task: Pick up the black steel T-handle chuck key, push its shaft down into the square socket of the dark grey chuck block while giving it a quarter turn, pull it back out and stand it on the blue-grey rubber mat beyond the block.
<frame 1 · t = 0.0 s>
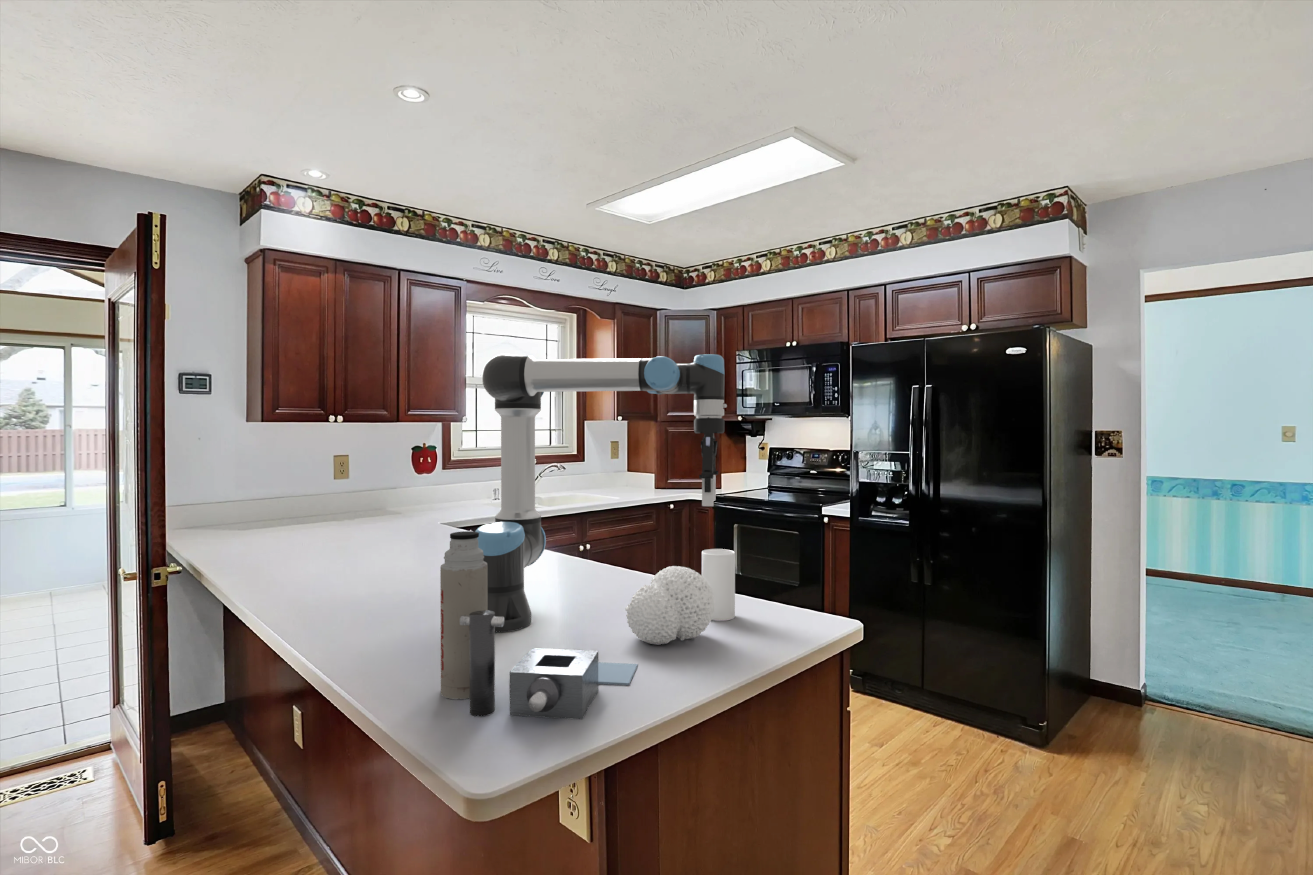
hand: (709, 503, 166), 28 cm above the worktop, fingers open, 13 cm apart
chuck block: (556, 702, 113), on the worktop
mat: (607, 673, 126), on the worktop
cup: (718, 616, 165), on the worktop
thermos bottle: (464, 691, 118), on the worktop
white coral: (673, 641, 146), on the worktop
key: (482, 711, 109), on the worktop
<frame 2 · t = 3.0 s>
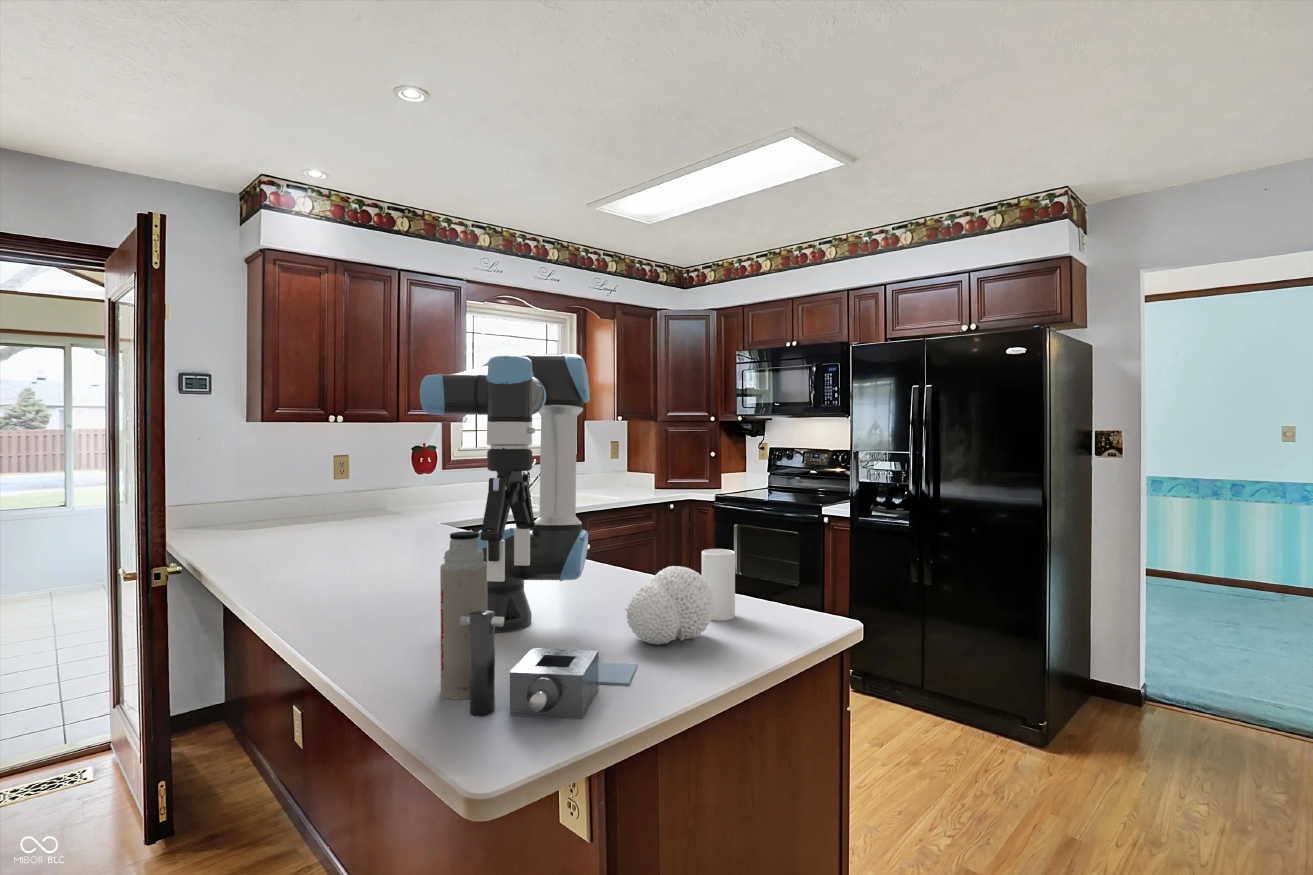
hand: (509, 572, 113), 22 cm above the worktop, fingers open, 13 cm apart
nothing on the worktop moved.
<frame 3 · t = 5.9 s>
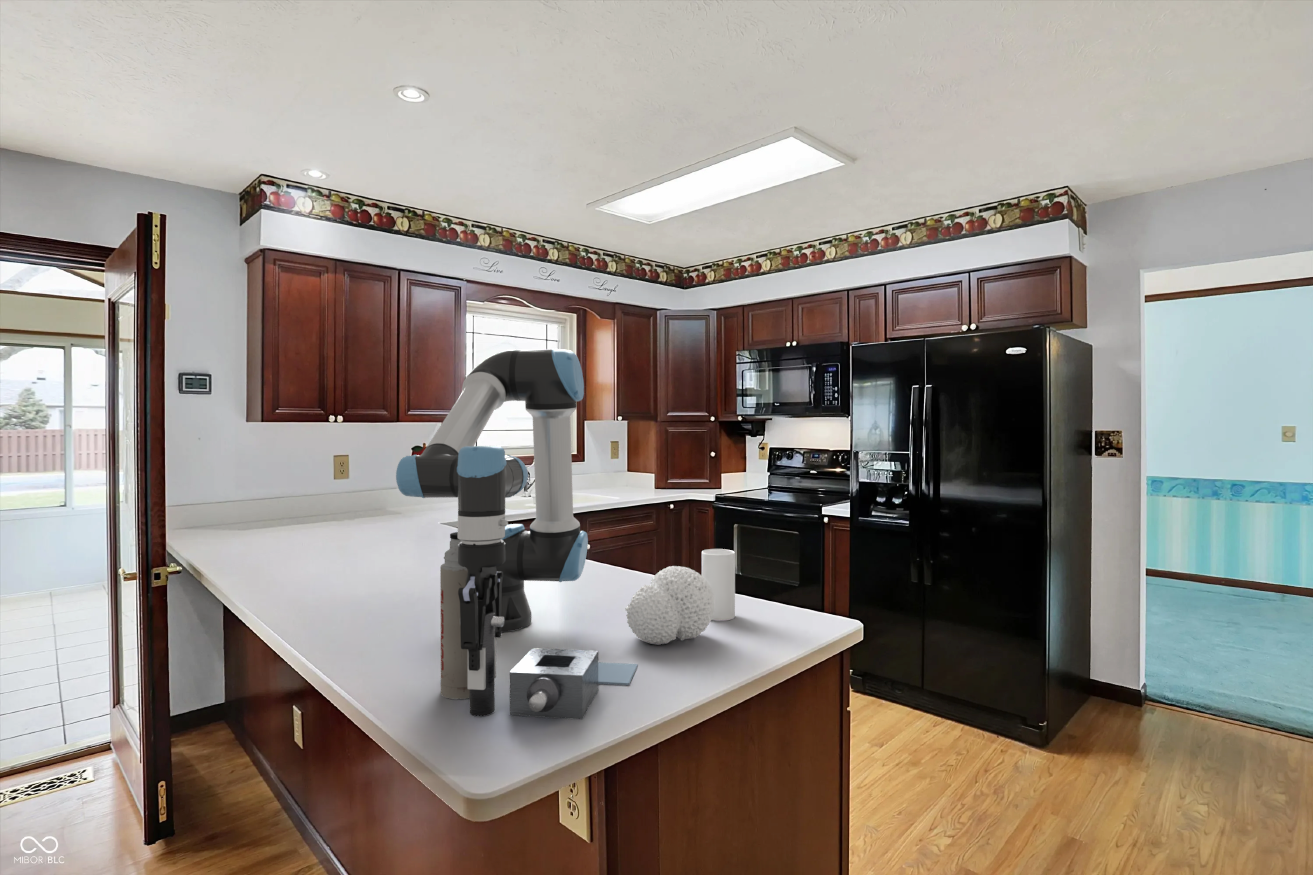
hand: (482, 682, 109), 5 cm above the worktop, fingers closed on key, 4 cm apart
key: (482, 711, 109), on the worktop, touching gripper
everything else where it was.
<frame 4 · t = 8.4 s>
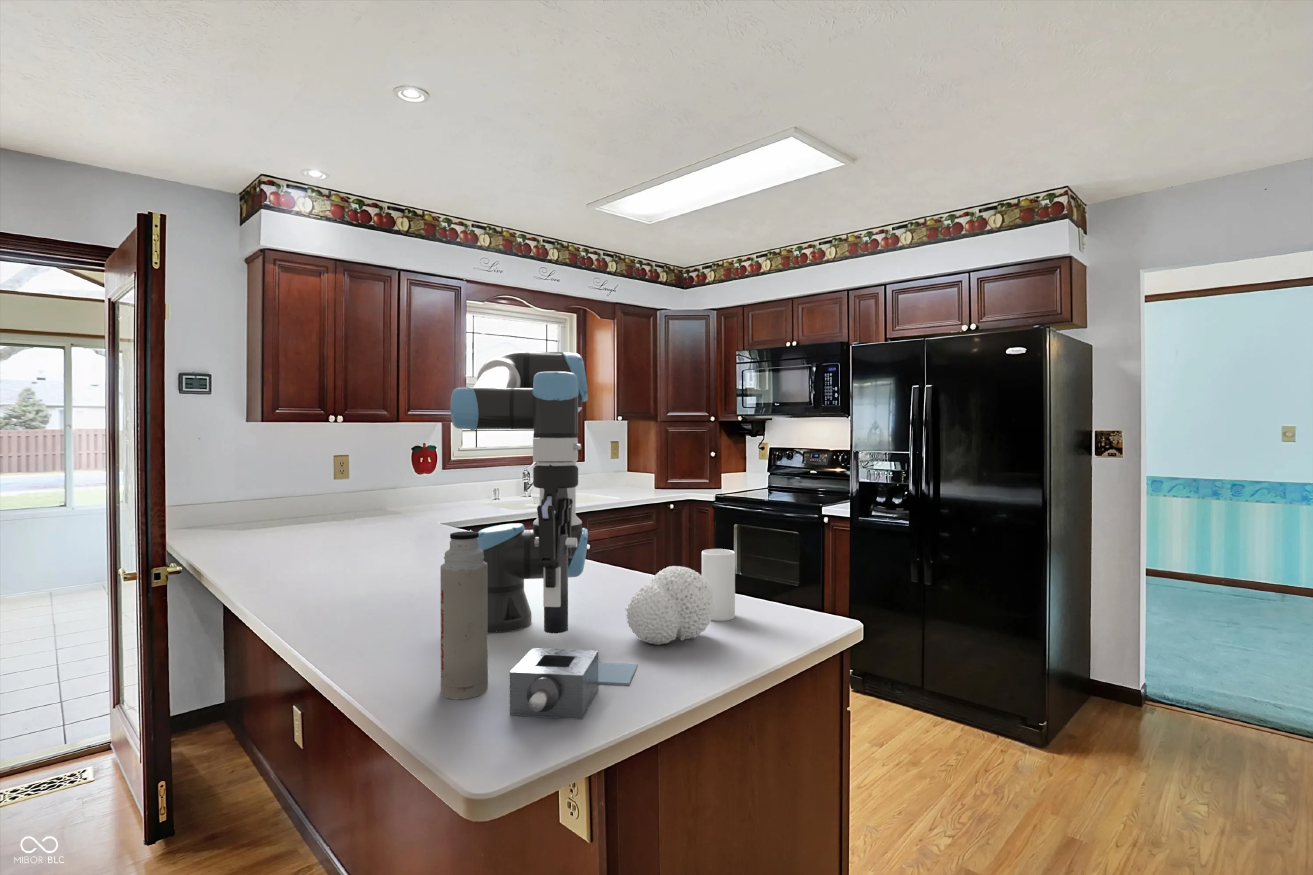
hand: (555, 602, 112), 17 cm above the worktop, fingers closed on key, 4 cm apart
key: (556, 629, 112), point 12 cm above the worktop, touching gripper
everything else where it was.
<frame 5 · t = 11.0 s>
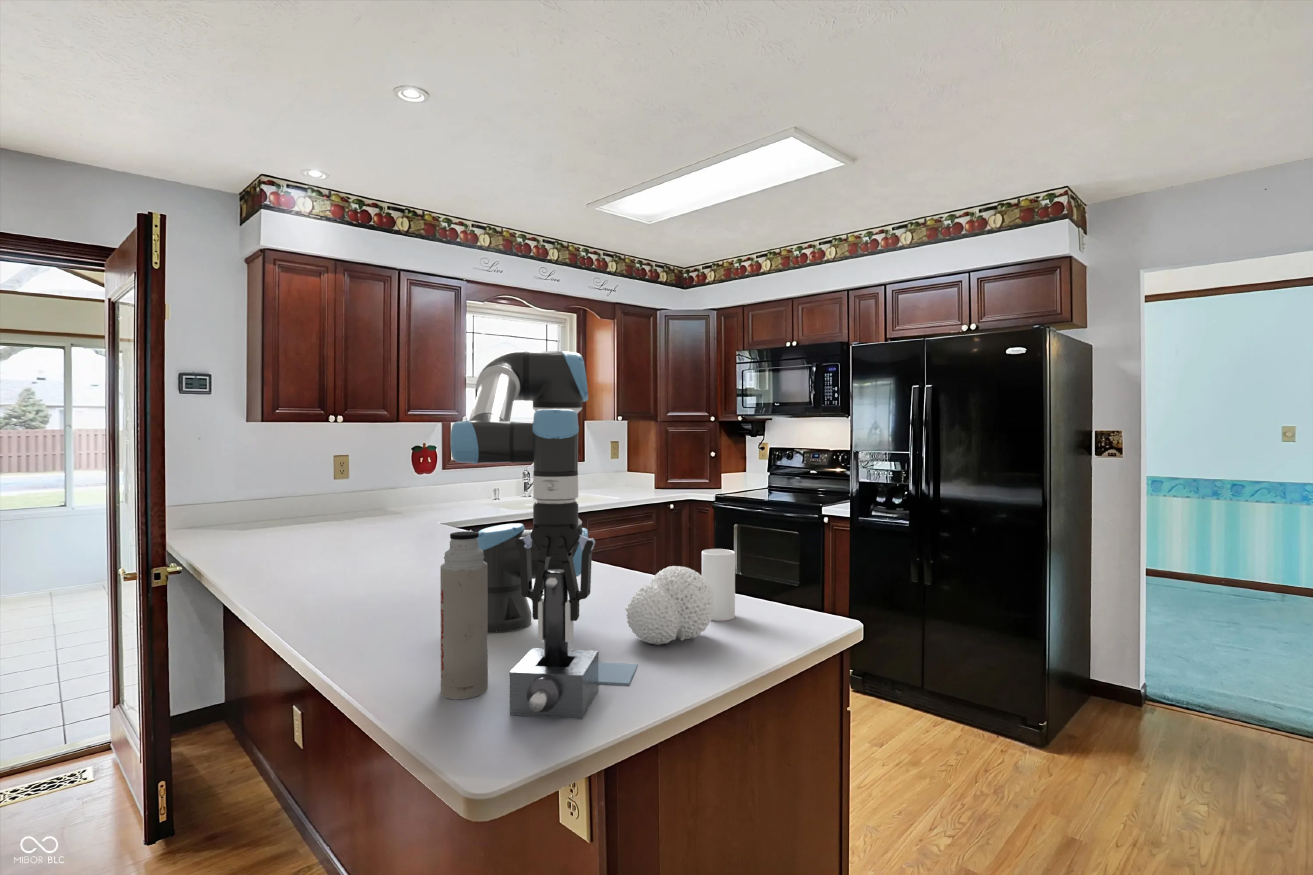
hand: (555, 638, 113), 11 cm above the worktop, fingers closed on key, 4 cm apart
key: (555, 666, 113), point 6 cm above the worktop, touching gripper
everything else where it was.
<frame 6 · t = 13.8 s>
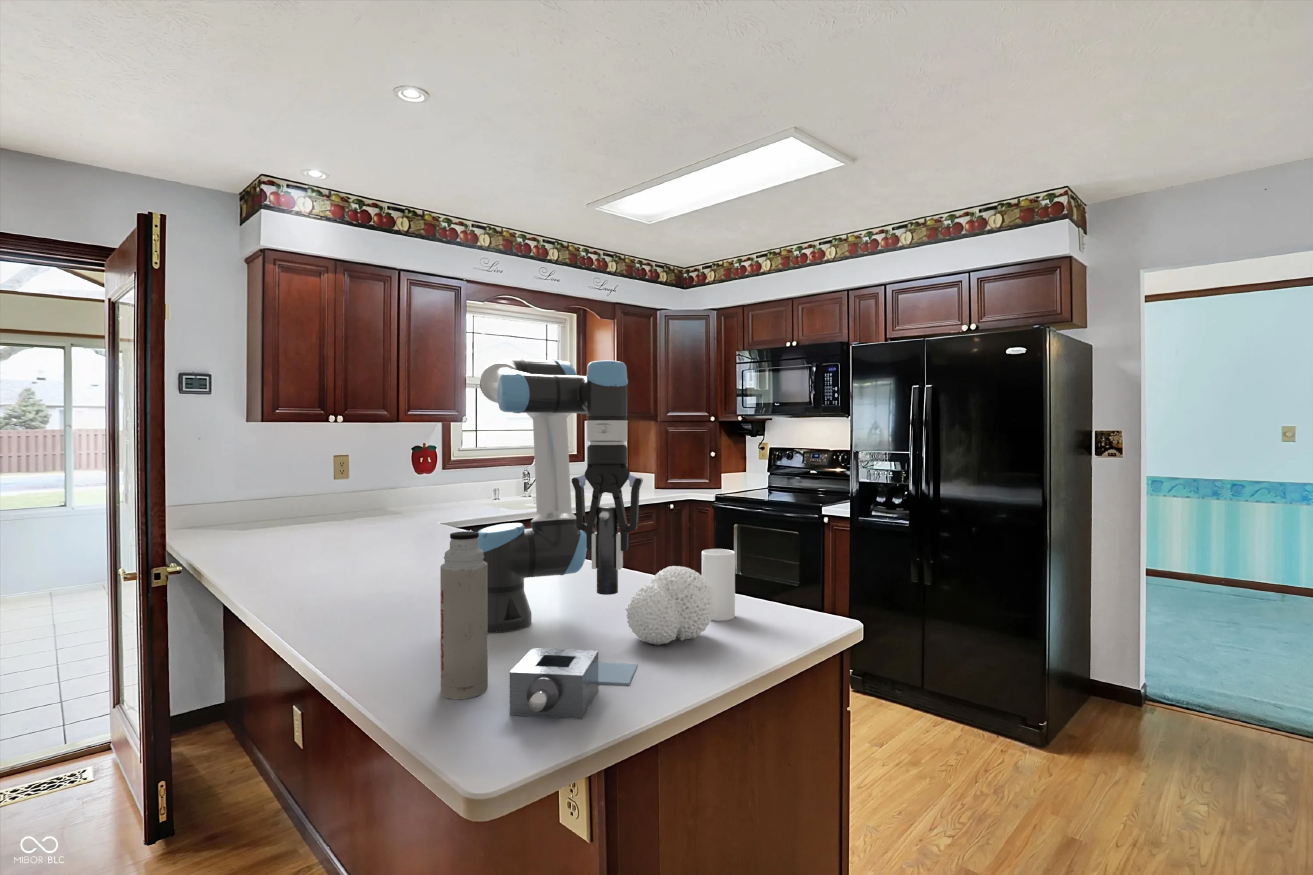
hand: (607, 567, 126), 20 cm above the worktop, fingers closed on key, 4 cm apart
key: (607, 592, 126), point 16 cm above the worktop, touching gripper
everything else where it was.
when the fingers open (6 cm above the worktop, at t = 16.5 s): key stays where it is, resting on mat.
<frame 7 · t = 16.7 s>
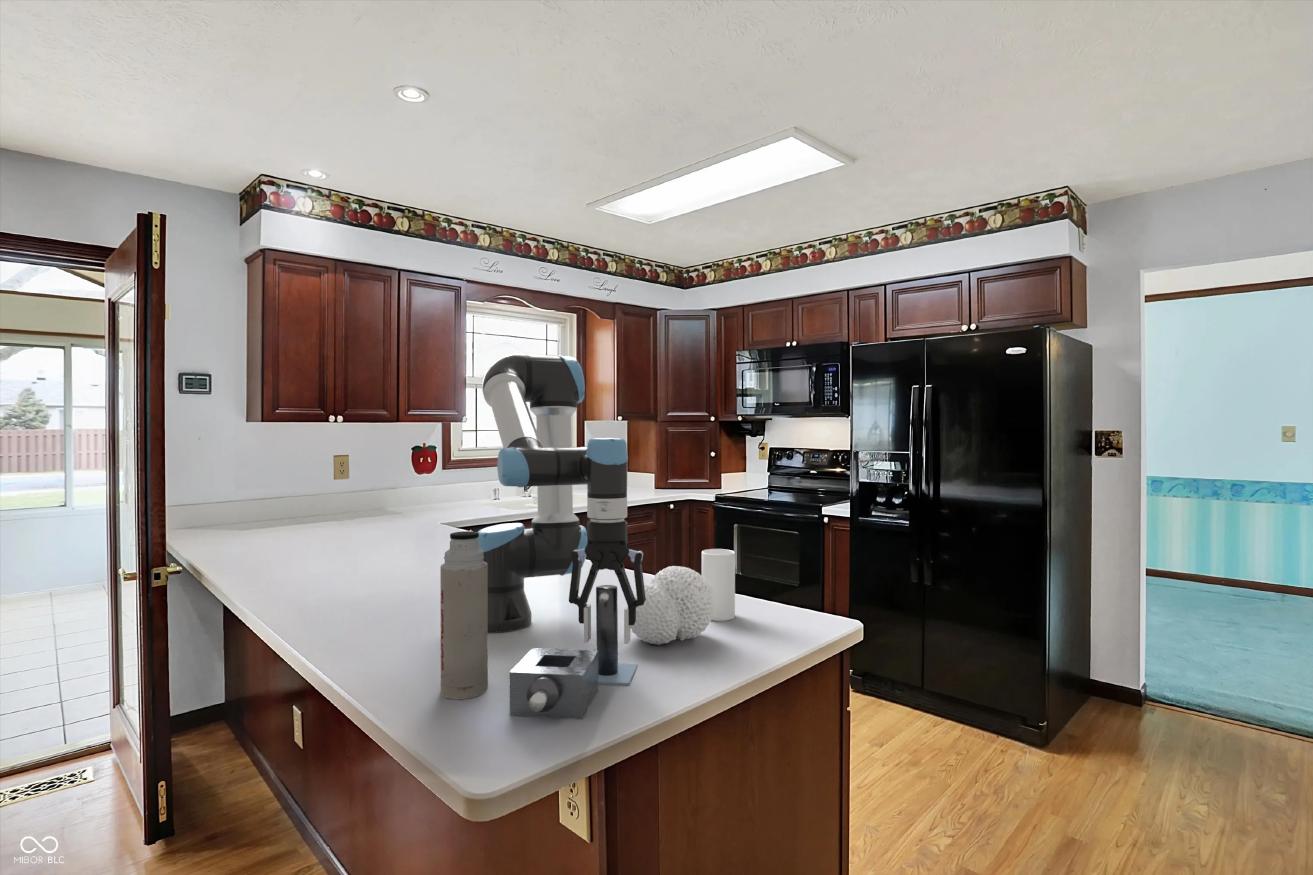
hand: (607, 640, 126), 6 cm above the worktop, fingers open, 7 cm apart
key: (607, 671, 126), resting on mat
everything else where it was.
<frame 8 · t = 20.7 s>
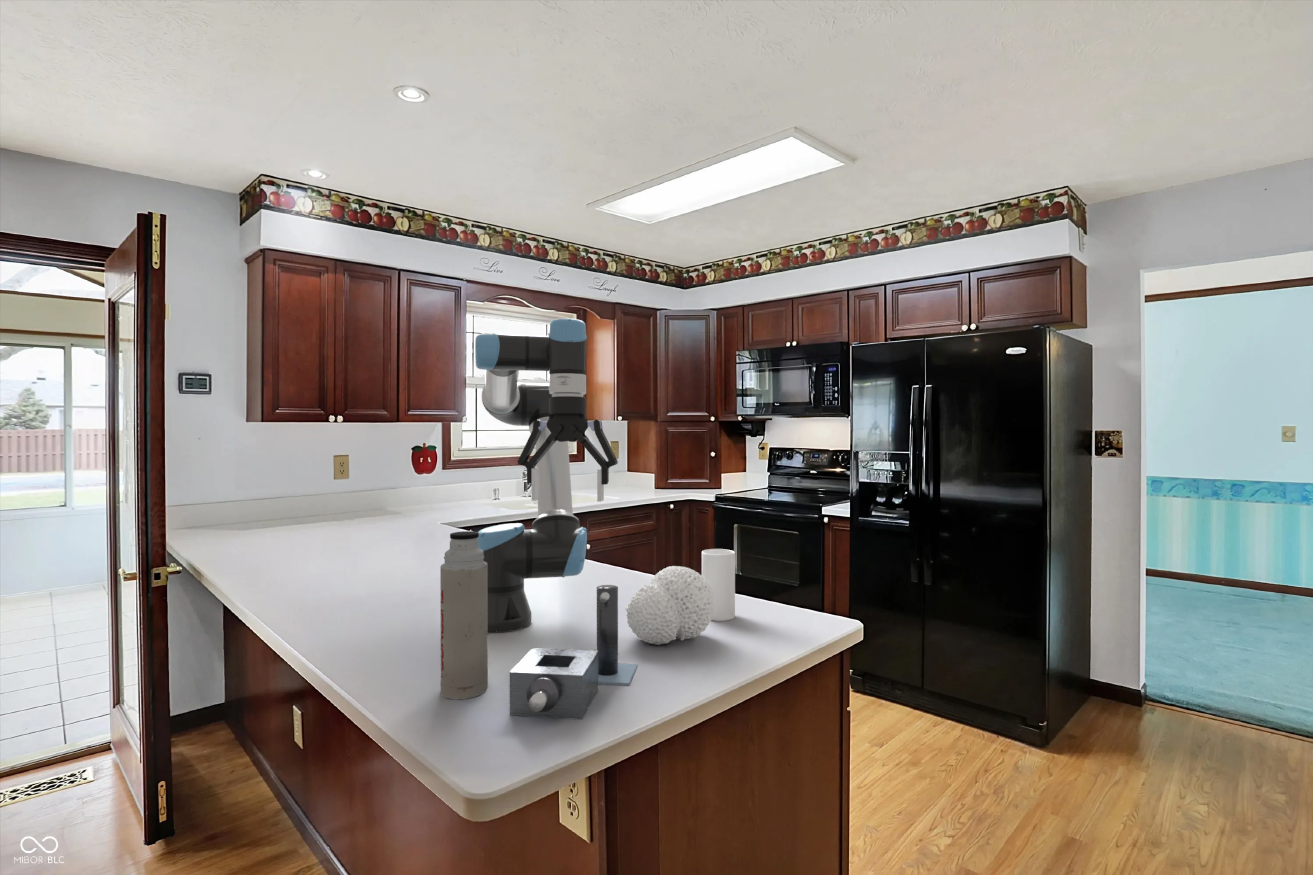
hand: (567, 500, 136), 32 cm above the worktop, fingers open, 13 cm apart
nothing on the worktop moved.
at the end: key inside the target area on the mat (0.0 cm from its centre), point 0.4 cm above the mat's base; key tilted 0°; the gripper is holding nothing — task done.
